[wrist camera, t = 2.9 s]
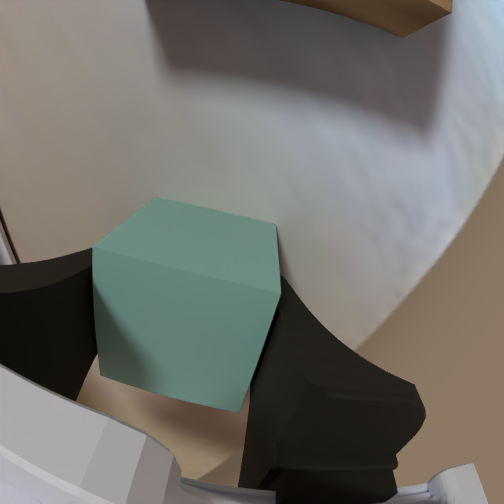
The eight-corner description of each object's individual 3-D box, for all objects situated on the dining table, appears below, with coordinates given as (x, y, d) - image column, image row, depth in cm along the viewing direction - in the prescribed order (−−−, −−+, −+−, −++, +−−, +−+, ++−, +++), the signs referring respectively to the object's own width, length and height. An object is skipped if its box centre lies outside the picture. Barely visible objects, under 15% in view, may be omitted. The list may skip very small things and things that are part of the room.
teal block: (275, 223, 12) (280, 293, 7) (247, 322, 13) (238, 412, 9) (157, 196, 11) (92, 246, 7) (146, 297, 13) (100, 374, 9)
